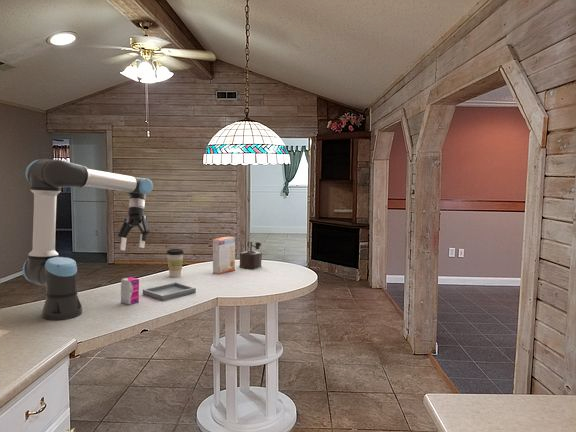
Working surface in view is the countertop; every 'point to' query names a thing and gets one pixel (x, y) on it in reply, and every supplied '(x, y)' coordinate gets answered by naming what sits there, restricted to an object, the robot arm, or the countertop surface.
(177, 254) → the coffee cup
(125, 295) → the supplement box
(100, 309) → the countertop surface
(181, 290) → the tray
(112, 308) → the countertop surface
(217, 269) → the cracker box
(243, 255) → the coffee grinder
